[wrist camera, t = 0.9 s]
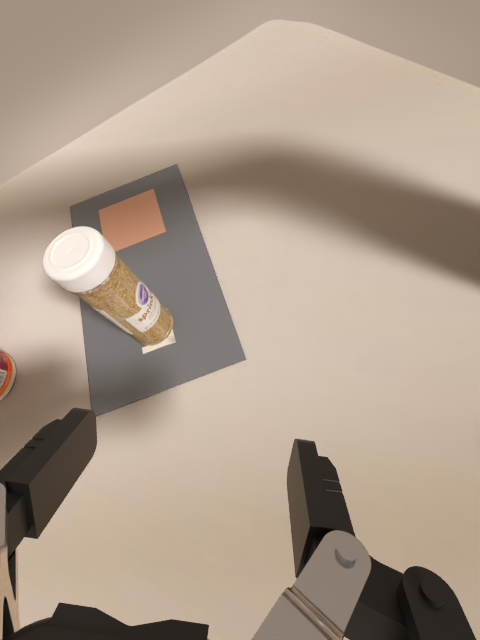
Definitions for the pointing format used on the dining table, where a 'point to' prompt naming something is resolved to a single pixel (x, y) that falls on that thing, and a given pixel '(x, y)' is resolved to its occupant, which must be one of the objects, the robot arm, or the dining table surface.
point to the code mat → (155, 293)
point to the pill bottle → (6, 374)
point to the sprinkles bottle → (106, 284)
